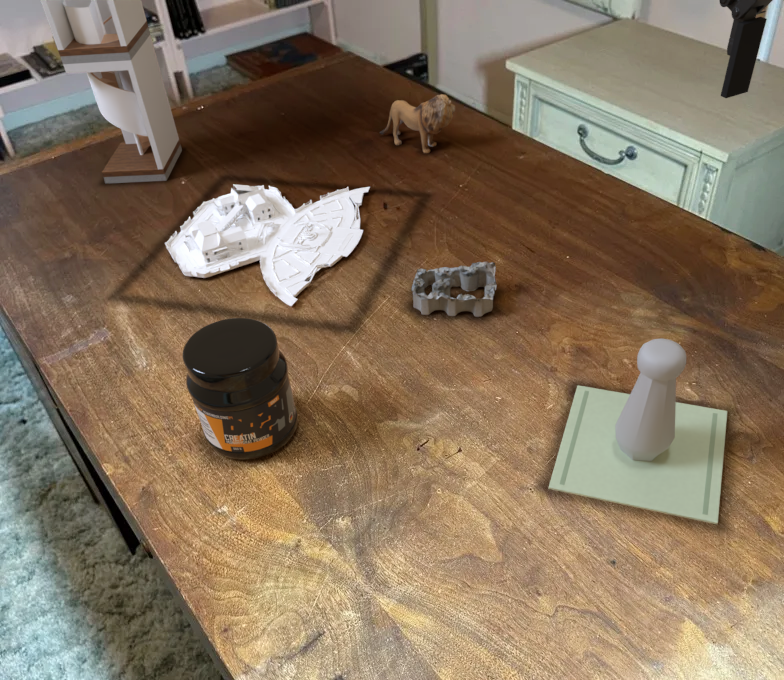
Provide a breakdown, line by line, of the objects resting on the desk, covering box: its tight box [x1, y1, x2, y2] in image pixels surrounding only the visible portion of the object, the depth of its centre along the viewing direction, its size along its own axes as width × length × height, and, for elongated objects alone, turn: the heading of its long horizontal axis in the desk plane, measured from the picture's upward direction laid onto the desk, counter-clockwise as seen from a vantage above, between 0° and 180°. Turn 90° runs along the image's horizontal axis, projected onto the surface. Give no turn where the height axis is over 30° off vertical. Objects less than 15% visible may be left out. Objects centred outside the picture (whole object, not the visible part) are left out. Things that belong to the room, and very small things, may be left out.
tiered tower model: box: [39, 0, 183, 184], centre depth 121 cm, size 11×11×35 cm
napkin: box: [548, 384, 728, 525], centre depth 79 cm, size 16×16×1 cm
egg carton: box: [410, 261, 498, 318], centre depth 98 cm, size 11×8×4 cm
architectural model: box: [164, 183, 371, 307], centre depth 112 cm, size 28×33×4 cm
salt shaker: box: [615, 337, 687, 461], centre depth 74 cm, size 6×6×13 cm
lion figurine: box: [379, 93, 456, 154], centre depth 129 cm, size 15×5×9 cm, turn 58°
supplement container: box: [182, 317, 299, 461], centre depth 81 cm, size 10×10×12 cm
